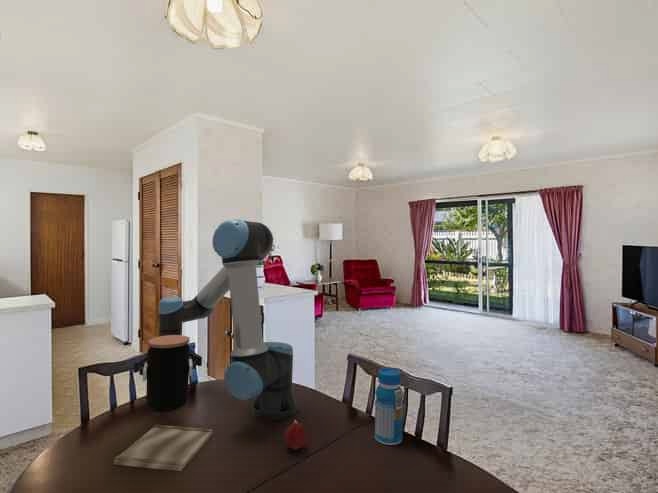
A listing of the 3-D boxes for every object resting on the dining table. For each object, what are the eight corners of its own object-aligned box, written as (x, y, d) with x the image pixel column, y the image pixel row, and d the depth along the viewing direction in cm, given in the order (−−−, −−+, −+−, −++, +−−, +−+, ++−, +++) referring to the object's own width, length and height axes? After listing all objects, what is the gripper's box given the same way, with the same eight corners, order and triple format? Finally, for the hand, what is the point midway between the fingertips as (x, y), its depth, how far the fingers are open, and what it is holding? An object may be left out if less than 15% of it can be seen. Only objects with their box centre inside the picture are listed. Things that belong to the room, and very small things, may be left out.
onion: (309, 446, 102) (309, 417, 102) (300, 457, 97) (301, 427, 97) (290, 442, 104) (291, 414, 104) (281, 452, 98) (282, 423, 99)
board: (212, 434, 107) (212, 429, 107) (180, 471, 89) (181, 465, 89) (155, 429, 109) (156, 424, 109) (113, 464, 91) (114, 458, 91)
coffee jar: (195, 397, 104) (196, 335, 104) (175, 414, 94) (177, 345, 94) (160, 395, 105) (161, 334, 106) (137, 412, 95) (138, 343, 95)
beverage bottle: (376, 446, 103) (377, 376, 103) (372, 431, 111) (373, 366, 111) (405, 446, 103) (407, 376, 103) (399, 431, 111) (401, 366, 112)
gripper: (206, 358, 121) (213, 381, 100) (128, 366, 112) (118, 393, 91) (207, 336, 121) (213, 355, 100) (129, 342, 112) (118, 363, 91)
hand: (168, 373), depth 96 cm, fingers closed on coffee jar, 11 cm apart
